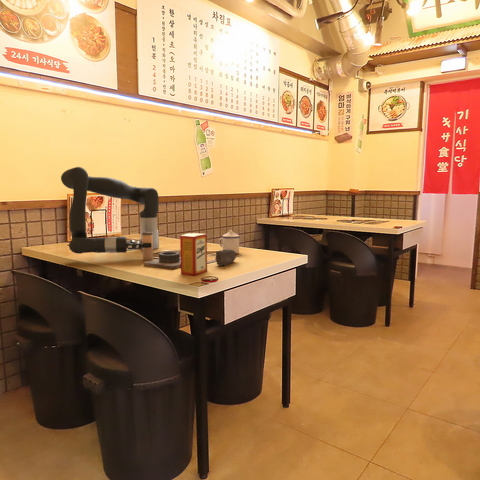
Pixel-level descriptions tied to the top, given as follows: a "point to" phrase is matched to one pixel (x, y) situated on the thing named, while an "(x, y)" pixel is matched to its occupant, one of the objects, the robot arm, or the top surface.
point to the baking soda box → (193, 253)
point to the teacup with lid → (230, 241)
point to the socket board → (163, 265)
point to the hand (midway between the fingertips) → (151, 243)
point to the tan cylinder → (147, 252)
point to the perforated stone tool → (225, 257)
